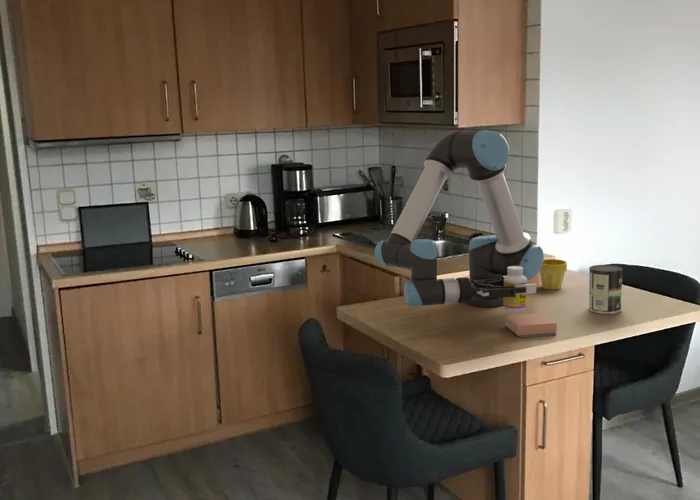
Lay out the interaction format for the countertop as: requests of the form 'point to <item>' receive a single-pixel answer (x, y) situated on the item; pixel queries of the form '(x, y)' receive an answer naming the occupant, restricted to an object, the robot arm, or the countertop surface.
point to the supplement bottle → (511, 280)
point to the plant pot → (552, 273)
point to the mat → (537, 335)
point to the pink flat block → (530, 324)
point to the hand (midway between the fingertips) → (531, 285)
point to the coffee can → (605, 289)
